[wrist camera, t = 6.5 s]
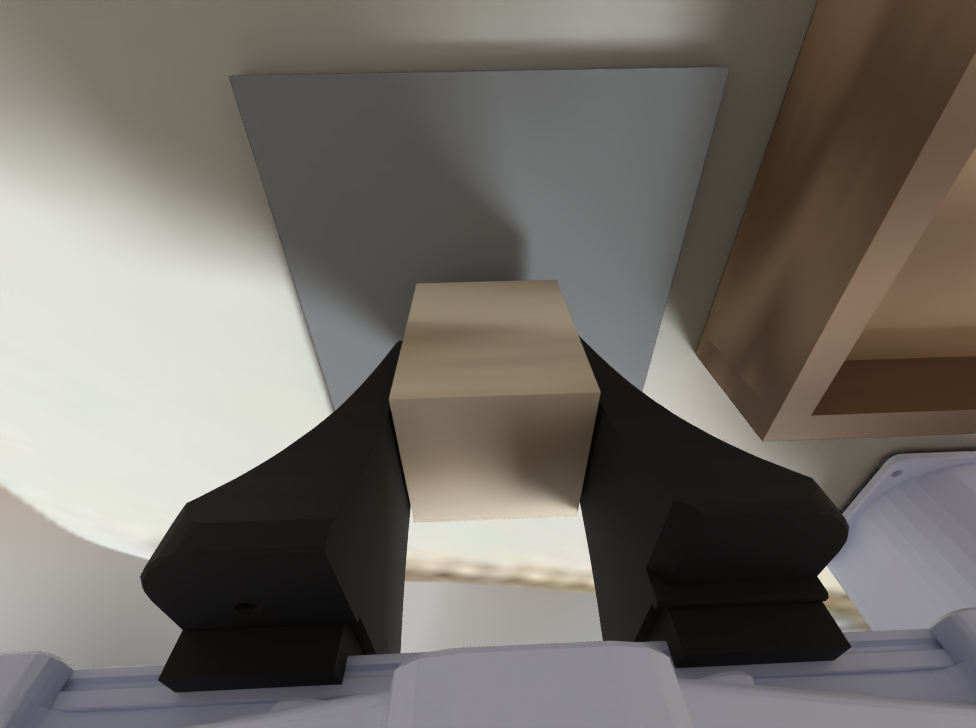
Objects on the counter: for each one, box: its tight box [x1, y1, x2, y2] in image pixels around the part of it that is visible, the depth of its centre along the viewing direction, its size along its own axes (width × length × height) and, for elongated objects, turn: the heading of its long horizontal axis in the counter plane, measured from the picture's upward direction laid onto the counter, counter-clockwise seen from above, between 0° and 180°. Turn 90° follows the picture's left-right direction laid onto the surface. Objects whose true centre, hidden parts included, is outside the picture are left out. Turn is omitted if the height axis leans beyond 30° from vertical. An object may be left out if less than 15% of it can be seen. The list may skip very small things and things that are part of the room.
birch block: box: [389, 280, 601, 523], centre depth 11 cm, size 4×4×5 cm
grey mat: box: [229, 67, 730, 410], centre depth 14 cm, size 14×12×1 cm
